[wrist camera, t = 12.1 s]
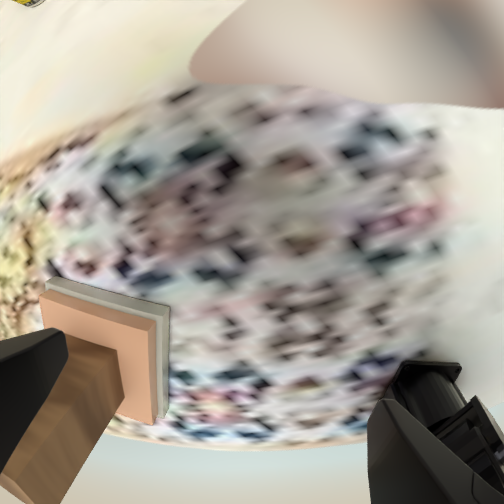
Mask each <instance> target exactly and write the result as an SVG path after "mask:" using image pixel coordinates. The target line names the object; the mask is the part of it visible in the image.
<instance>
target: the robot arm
mask: <svg viewBox="0 0 504 504" xmlns="http://www.w3.org/2000/svg"><path fill="white" fill-rule="evenodd" d="M68 357H69V352H68V347H67V342H66V336H65V334H64V332H63V331H62V330H59V329H57V328H54V327H51V328H47V329H43V330H40V331H36V332H32V333H29V334H25V335H21V336H17V337H14V338H10V339H6V340H2V341H0V475H1V473H2V471H3V469H4V467H5V466H6V464H7V462H8V460H9V459H10V457H11V455H12V453H13V452H14V450H15V448H16V447H17V445H18V443H19V442H20V440H21V438H22V437H23V435H24V434H25V432H26V430H27V429H28V427H29V426H30V424H31V422H32V421H33V419H34V418H35V416H36V415H37V413H38V412H39V410H40V408H41V407H42V405H43V404H44V402H45V401H46V399H47V398H48V396H49V394H50V392H51V390H52V388H53V387H54V385H55V383H56V381H57V379H58V377H59V375H60V373H61V372H62V370H63V368H64V366H65V364H66V363H67V360H68ZM407 366H408V367H407ZM405 367H407V368H405ZM461 370H462V367H461V366H460V364H458V363H433V362H415V361H405V362H403V363H402V364H401V365H400V367H399V369H398V371H397V373H396V375H395V377H394V379H393V381H392V383H391V384H390V385H389V387H388V389H387V391H386V393H385V395H384V397H383V399H381V400H379V401H378V403H377V405H376V406H375V408H374V410H373V412H372V414H371V415H370V417H369V419H368V423H367V447H368V479H369V488H370V498H371V504H504V434H503V432H502V431H501V429H500V427H499V426H498V424H497V423H496V421H495V419H494V418H493V416H492V415H491V414H490V412H489V411H488V410H487V408H486V407H485V406H484V405H483V403H482V402H481V401H480V400H479V398H478V397H477V396H476V395H475V396H474V397H473V398H472V399H470V402H469V403H467V402H466V400H465V398H464V397H463V395H462V393H461V392H460V390H459V389H458V387H457V385H456V384H455V381H456V379H457V377H458V375H459V374H460V372H461Z"/></svg>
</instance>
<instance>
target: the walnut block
mask: <svg viewBox="0 0 504 504" xmlns="http://www.w3.org/2000/svg"><path fill="white" fill-rule="evenodd" d="M64 334H65V336H66V342H67V347H68V352H69V357H68V360H67V363H66V364H65V366H64V368H63V370H62V372H61V373H60V375H59V377H58V379H57V381H56V383H55V385H54V387H53V388H52V390H51V392H50V394H49V396H48V398H47V399H46V401H45V402H44V404H43V405H42V407H41V408H40V410H39V412H38V413H37V415H36V416H35V418H34V419H33V421H32V422H31V424H30V426H29V427H28V429H27V430H26V432H25V434H24V435H23V437H22V438H21V440H20V442H19V443H18V445H17V447H16V448H15V450H14V452H13V453H12V455H11V457H10V459H9V460H8V462H7V464H6V466H5V467H4V469H3V471H2V473H1V475H0V485H1V486H2V487H3V488H5V489H6V490H7V491H9V492H10V493H11V494H13V495H14V496H15V497H17V498H18V499H20V500H21V501H22V502H24V503H26V504H60V503H61V501H62V499H63V498H64V496H65V494H66V493H67V491H68V489H69V487H70V486H71V484H72V483H73V481H74V479H75V478H76V476H77V474H78V473H79V471H80V469H81V468H82V466H83V464H84V463H85V461H86V459H87V458H88V456H89V454H90V453H91V451H92V450H93V448H94V446H95V445H96V443H97V441H98V440H99V438H100V436H101V435H102V433H103V432H104V430H105V428H106V427H107V425H108V424H109V422H110V420H111V419H112V417H113V416H114V414H115V413H116V411H117V409H118V408H119V406H120V405H121V403H122V401H123V400H124V398H125V396H124V390H123V385H122V380H121V374H120V368H119V362H118V355H117V350H115V349H112V348H108V347H105V346H102V345H99V344H95V343H92V342H89V341H86V340H83V339H80V338H77V337H74V336H71V335H68V334H66V333H64Z"/></svg>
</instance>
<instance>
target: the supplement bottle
mask: <svg viewBox="0 0 504 504" xmlns="http://www.w3.org/2000/svg"><path fill="white" fill-rule="evenodd" d="M13 1H15V2H18V3H20V4H23V5H25V6H28V7H34V6H36V5H38V4H40V3H42V2H43V1H44V0H13Z"/></svg>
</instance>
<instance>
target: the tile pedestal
mask: <svg viewBox="0 0 504 504" xmlns="http://www.w3.org/2000/svg"><path fill="white" fill-rule="evenodd" d="M45 286H46V292H44V293H43V294H41V295H39V301H40V308H41V314H42V319H43V325H44V329H47V328H51V327H54V328H57V329H59V330H62V331H63V332H64V333H66V334H68V335H71V336H74V337H77V338H80V339H83V340H86V341H89V342H92V343H95V344H99V345H102V346H105V347H108V348H112V349H115V350H117V355H118V362H119V368H120V374H121V380H122V385H123V390H124V396H125V398H124V400H123V401H122V403H121V405H120V406H119V408H118V409H117V411H116V413H118V414H121V415H123V416H126V417H129V418H132V419H135V420H138V421H141V422H144V423H147V424H150V425H153V424H154V422H155V420H156V418H157V417H159V418H162V419H164V417H165V415H166V413H167V411H168V409H169V398H168V354H169V316H170V307H168V306H163V305H159V304H155V303H151V302H147V301H143V300H139V299H135V298H131V297H128V296H124V295H120V294H116V293H113V292H109V291H105V290H102V289H98V288H95V287H91V286H88V285H84V284H81V283H78V282H74V281H71V280H68V279H64V278H61V277H58V276H54V277H53V278H51V279H49V280H47V281H46V282H45Z"/></svg>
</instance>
